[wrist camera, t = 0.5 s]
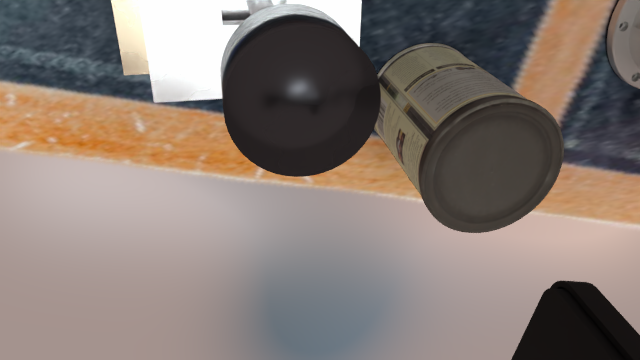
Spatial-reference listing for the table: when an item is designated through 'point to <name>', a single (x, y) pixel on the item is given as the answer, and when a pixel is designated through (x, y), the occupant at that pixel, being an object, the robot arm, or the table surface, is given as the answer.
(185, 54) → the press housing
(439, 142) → the coffee can
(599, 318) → the robot arm
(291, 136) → the plunger
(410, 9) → the table surface
